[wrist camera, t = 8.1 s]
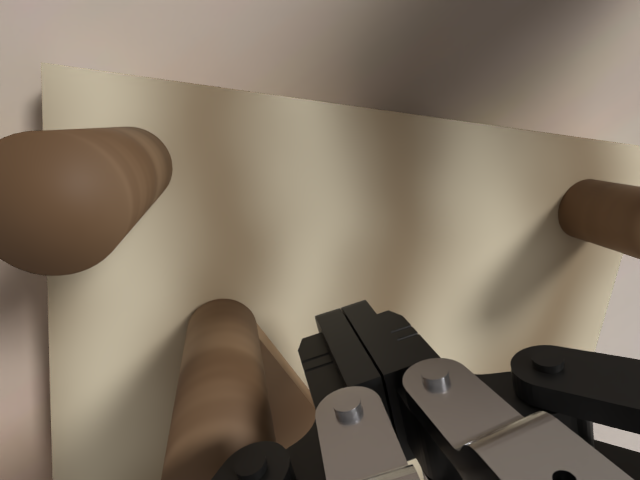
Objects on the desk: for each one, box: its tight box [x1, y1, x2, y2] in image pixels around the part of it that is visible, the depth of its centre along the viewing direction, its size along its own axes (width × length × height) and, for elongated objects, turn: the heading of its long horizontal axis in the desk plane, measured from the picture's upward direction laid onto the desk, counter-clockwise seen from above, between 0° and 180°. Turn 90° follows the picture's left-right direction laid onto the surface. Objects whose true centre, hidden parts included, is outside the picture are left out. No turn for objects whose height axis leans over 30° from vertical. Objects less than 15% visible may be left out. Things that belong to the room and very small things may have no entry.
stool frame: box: [0, 63, 640, 480], centre depth 15 cm, size 22×17×9 cm
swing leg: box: [161, 299, 316, 480], centre depth 14 cm, size 11×2×7 cm, turn 33°
